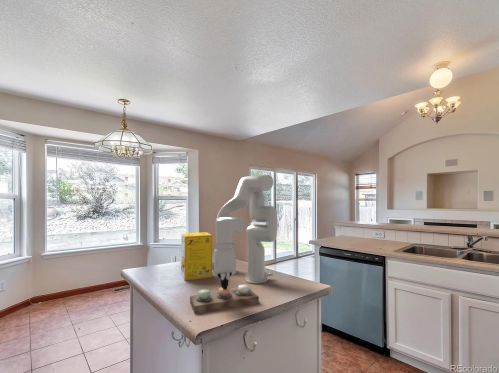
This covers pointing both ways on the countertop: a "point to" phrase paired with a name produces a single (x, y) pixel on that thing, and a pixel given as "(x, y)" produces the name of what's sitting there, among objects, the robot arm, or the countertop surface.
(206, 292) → the button sage
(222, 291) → the button terracotta
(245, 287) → the button cream
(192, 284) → the countertop surface
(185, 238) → the packaging box
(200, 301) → the console
